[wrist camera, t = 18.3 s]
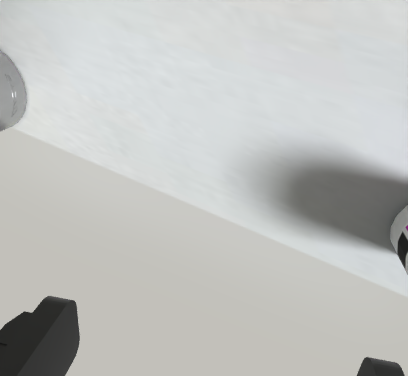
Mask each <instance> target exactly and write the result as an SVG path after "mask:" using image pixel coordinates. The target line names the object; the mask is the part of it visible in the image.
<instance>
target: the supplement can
mask: <svg viewBox="0 0 408 376" xmlns="http://www.w3.org/2000/svg"><path fill="white" fill-rule="evenodd" d="M390 240H391V242H392V244H393V247H394V249H395V251H396V253H397V255H398V257H399V259H400V261H401V262H402V264H403V266H404V268H405V270H406V272H407V274H408V205H407V206H406V207H405V208H404V209H403V210H402V211H401V212H400V213H399V214H398V215H397V216H396V217H395V220H394V222H393V224H392V226H391V230H390Z"/></svg>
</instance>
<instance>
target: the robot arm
mask: <svg viewBox="0 0 408 376" xmlns="http://www.w3.org/2000/svg"><path fill="white" fill-rule="evenodd" d="M26 103H27V97H26V89H25V85H24V82H23V79H22V77H21V74H20V73H19V71H18V69H17V68H16V66H15V65H14V63H13V62H12V61H11V60H10V59H9V57H8V56H6V55H5V54H4V53H3V52H2V51H1V50H0V131H2V130H5V129H7V128H9V127H12V126H13V125H15V124H16V123H18V121H19V120H20V119H21V118H22V116H23V114H24V112H25V109H26ZM79 340H80V336H79V326H78V316H77V306H76V302H75V301H73V300H68V299H63V298H58V297H52V296H48V297H46V298H45V299H43V300H42V302H41V303H40V304H39V305H38V307H37V308H36V309H35V310H34V312H33V313H29V312H23V313H21V314H20V315H18V316H17V317H16V318H14V319H12V320H11V321H10V322H8V323H7V324H5V325H4V327H3V328H2V329H1V330H0V376H65V374H66V373H67V371H68V369H69V367H70V366H71V364H72V362H73V360H74V358H75V356H76V353H77V350H78V347H79ZM357 376H404V373H403V371H402V368H401V367H400V365H399V364H397V363H395V362H390V361H385V360H379V359H374V358H368V357H366V358H364V360H363V362H362V364H361V367H360V369H359V371H358V374H357Z"/></svg>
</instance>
